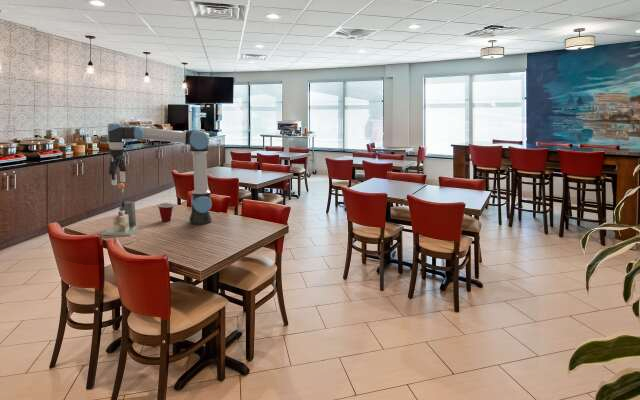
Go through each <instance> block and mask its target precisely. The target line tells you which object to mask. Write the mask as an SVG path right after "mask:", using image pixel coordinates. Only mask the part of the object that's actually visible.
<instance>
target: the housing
mask: <svg viewBox="0 0 640 400" xmlns="http://www.w3.org/2000/svg"><path fill="white" fill-rule="evenodd" d="M112 227H113V230H114V231H126V230H127V229H129V216H128V214H125V213H124V214H123V211H120V210H119V211H118V213H117V214H115V215H113V216H112Z"/></svg>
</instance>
